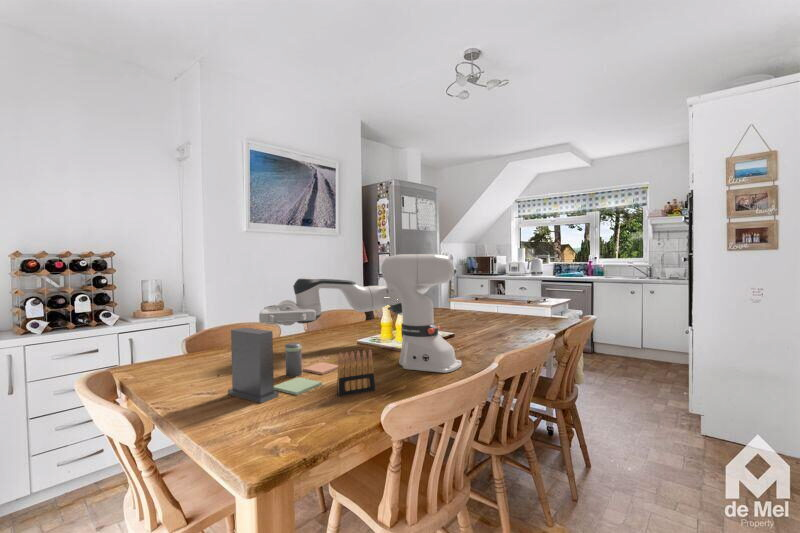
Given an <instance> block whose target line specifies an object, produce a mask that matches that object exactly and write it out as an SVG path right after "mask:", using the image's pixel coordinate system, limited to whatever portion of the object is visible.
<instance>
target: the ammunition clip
mask: <svg viewBox="0 0 800 533" xmlns="http://www.w3.org/2000/svg"><path fill="white" fill-rule="evenodd" d="M350 352H351V353H350V357H349V354H348V352H347V351H345V354H344V358H343V355H342V353H341V351H340V352H339V354H338V359H337V360H338V361H337V362H338V363H337V365H338V369H337V380H336V381H337V382H336V383H337V384H336V395H337V396H338V397H345V396H350V395H356V394H357V395H358V394H362V393H368V392H369V393H370V392H375V391H376V389H375V387H376V386H375V373H374V361H373V359H374V358H373V352H372V349H371V348H369V349H368V354H367V352H366V349H363V350H362V354H361V353H360V350H359V349H358V350H357V352H356V355H355V353H354V351H353V350H352V351H350ZM361 355H362V356H361ZM355 356H356V358H355ZM361 357H362V358H361ZM349 358H350V359H349ZM343 359H344V362H343ZM361 360H362V361H361ZM349 361H350V362H349Z"/></svg>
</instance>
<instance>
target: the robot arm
mask: <svg viewBox="0 0 800 533" xmlns="http://www.w3.org/2000/svg"><path fill="white" fill-rule="evenodd" d="M380 270H381V272H380V273H381V275H382V278H383V280H384V281H385V283H386V284H385V285H368V286H361V285H358V284H357V283H356V282H355V281H352V280H348V279H347V280H346V279H333V278H331V279H330V278H329V279H328V278H316V277H315V278H314V277H310V276H304V277H300V278H298V279H297V280H296V281H295V282H294V284H293V287H292V288H293V291H294V294H295V302H294V301H293V300H290V299H287V300H286V299H285V300H283V301H281V302H280V303H278V304H275V305H267V306H264V308H263V309H261V310H260V311H259V313H258V314H259V318H258V321H259V323H260V324H267V325H269V324H270V325H274V324H276V325H283V326H292V325H294V324H296V323H297V324H308V323H312V322H315V321H317V320H318V319H319V318H320V317H321V316H322V313H323V312H322V305H321V297H320V290H321V289H335V290H339V291H341V293H342V294H343V296H344V297H345V299H346V302H347V303H348V305H349V306H350V307H351V309H353V310H354V311H356V312H359V313H366V312H373V311H377V310H382V309H384V308H386V307H387V310H388V311H391V312H392V313H393V314H394V315H397V316H402V322H401V328H400V329H401V331H400V332H401V338H402V340H401V348H400V356H399V360H398V364H399V365H400V366H401V367H402V369H404V370H409V371H410V370H412V371H413V370H414V371H421V372H432V373H433V372H435V373H443V374H445V373H450V372H454V371H457V370H458V369H460V367H462V365H463V364H462V363H463V361H462V360H461V359H456V354H455V349H454V346H452V345H451V344H450V343H449V342H448V341H447V340H446V339H444V338H443V336H441V335H440V334H439V330H441V328H440V327H441V325H438V326H437V325H436V324H435V322H434V303H433V300H432V299H431V298H430V297H429V296H428V295H427V296H426V295H424V294H426V293H427V292H428V291H429V290H430V288H432V287H434V286H437V285H442V284H447V283H449V282H450V281H451V280H452V279H453V276H454V273H455V267H454V263H453V261H452V260H451V258H450V257H449V256H447V255H443V254H439V253H438V254H437V253H418V254H417V253H405V254H404V253H402V254H394V255H389V256H387V257H385V259H384V260H383V262H382V264H381V268H380ZM384 297H390V298H384ZM397 299H398V300H397ZM387 305H389V306H387ZM385 306H386V307H385ZM383 307H384V308H383ZM398 314H399V315H398Z"/></svg>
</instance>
